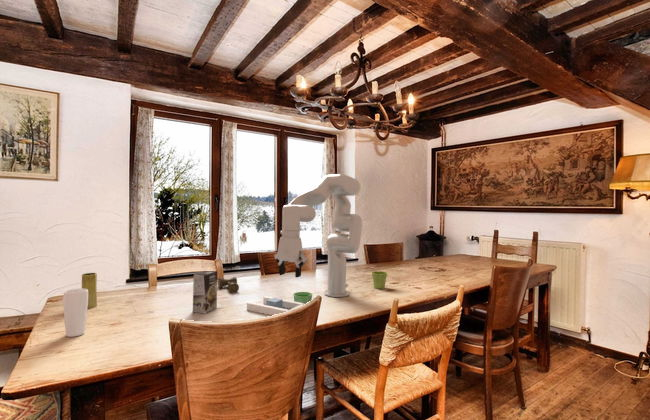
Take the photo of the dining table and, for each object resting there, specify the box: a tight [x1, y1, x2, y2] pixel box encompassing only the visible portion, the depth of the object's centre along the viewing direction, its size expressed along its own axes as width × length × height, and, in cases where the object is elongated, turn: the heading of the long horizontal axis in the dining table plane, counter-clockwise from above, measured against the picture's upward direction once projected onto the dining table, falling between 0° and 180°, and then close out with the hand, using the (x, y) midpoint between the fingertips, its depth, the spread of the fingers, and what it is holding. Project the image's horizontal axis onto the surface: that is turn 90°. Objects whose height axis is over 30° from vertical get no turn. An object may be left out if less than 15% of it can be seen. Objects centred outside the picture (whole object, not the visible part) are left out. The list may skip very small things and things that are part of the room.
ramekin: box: [292, 291, 313, 304], centre depth 153 cm, size 9×9×4 cm
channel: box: [246, 295, 305, 316], centre depth 142 cm, size 13×22×3 cm, turn 61°
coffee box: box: [192, 270, 218, 314], centre depth 141 cm, size 9×6×16 cm
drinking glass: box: [62, 287, 88, 338], centre depth 112 cm, size 7×7×15 cm
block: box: [265, 297, 284, 309], centre depth 143 cm, size 5×5×4 cm
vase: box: [81, 272, 98, 309], centre depth 142 cm, size 6×6×14 cm
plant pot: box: [370, 270, 389, 290], centre depth 186 cm, size 9×9×9 cm
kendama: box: [217, 276, 240, 293], centre depth 178 cm, size 6×10×20 cm
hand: (290, 275), depth 139 cm, fingers open, 7 cm apart
